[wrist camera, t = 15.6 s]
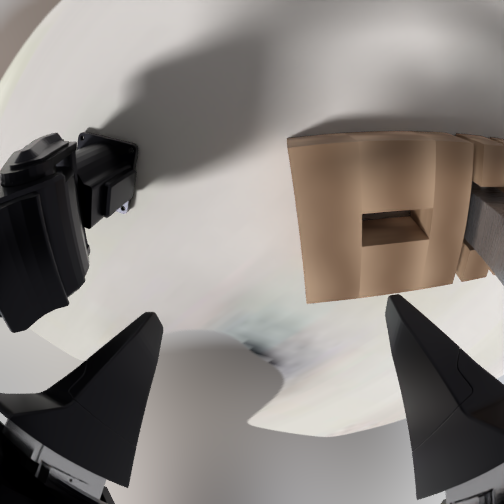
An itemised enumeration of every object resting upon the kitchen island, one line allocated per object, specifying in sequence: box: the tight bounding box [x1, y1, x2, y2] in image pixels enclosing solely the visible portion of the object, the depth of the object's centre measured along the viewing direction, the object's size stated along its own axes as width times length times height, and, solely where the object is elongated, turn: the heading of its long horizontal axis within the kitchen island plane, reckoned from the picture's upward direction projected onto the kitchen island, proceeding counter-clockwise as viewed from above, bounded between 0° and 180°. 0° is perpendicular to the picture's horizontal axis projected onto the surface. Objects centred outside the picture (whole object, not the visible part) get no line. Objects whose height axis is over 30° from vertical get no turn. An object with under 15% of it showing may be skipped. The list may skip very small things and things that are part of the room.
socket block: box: [287, 131, 504, 304], centre depth 17 cm, size 22×12×4 cm, turn 101°
